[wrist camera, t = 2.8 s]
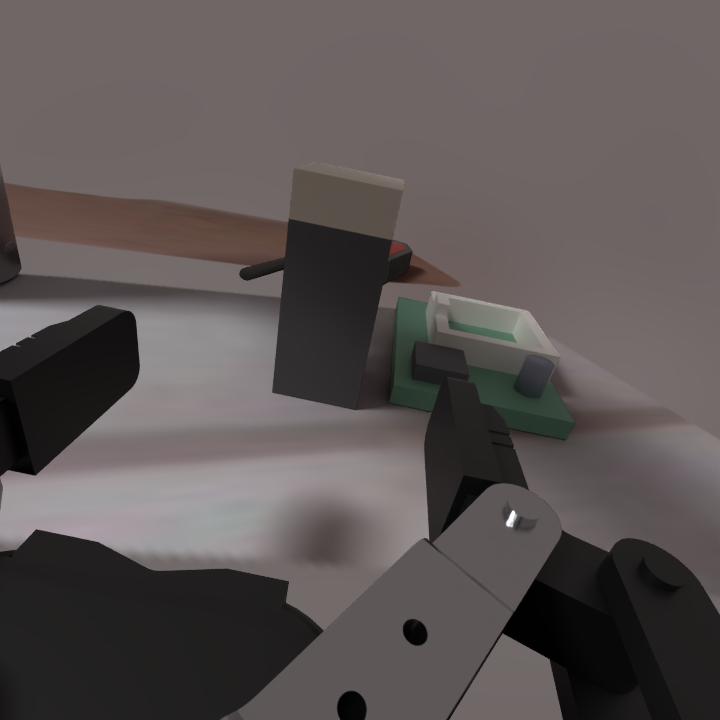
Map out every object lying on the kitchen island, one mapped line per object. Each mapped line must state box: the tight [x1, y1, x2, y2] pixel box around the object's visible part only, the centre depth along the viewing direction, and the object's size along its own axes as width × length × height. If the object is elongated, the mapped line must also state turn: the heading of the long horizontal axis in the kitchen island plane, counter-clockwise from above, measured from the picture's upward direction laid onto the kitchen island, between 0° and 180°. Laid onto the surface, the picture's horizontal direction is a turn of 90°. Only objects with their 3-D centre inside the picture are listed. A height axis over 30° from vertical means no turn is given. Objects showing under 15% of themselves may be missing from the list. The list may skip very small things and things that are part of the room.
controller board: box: [389, 291, 575, 440], centre depth 29 cm, size 10×14×4 cm
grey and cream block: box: [272, 162, 404, 410], centre depth 22 cm, size 4×4×11 cm
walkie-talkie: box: [239, 240, 412, 285], centre depth 40 cm, size 9×4×20 cm
